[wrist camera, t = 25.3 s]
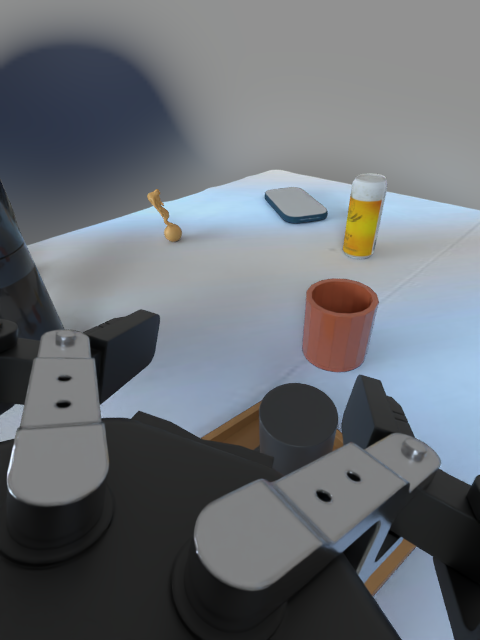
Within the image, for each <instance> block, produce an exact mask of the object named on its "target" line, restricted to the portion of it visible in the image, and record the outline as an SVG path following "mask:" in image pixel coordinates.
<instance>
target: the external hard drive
mask: <svg viewBox="0 0 480 640" xmlns="http://www.w3.org/2000/svg"><path fill="white" fill-rule="evenodd" d="M265 199H266V200H267V201H268V203H269V204H270V205H271V206H272V207H273V208H274V209H275V211H276V212H277V213H278V214H279V215H280V216H281V217H282V219H283V220H285V221H287V222H290V223H302V222H310V221H317V220H323V219H325V218H326V217H327V209H326V208H325V207H324V206H323V205H321V204H320V203H319V202H318V201H316V200H315V199H314V198H313V197H311V196H310V195H309V194H308V193H307V192H305V191H304V190H303V189H301V188H297V187H289V188H280V189H272V190H268V191H266V192H265Z"/></svg>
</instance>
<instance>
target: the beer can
mask: <svg viewBox="0 0 480 640" xmlns="http://www.w3.org/2000/svg"><path fill="white" fill-rule="evenodd" d="M386 189H387V181H386V177H385V176H383V175H379V174H360V175H357V176H356V177H355V180H354V181H353V183H352V189H351V196H350V203H349V210H348V217H347V224H346V231H345V238H344V245H343V251H344V252H345V254H346V255H347V256H348V257H350V258H354V259H365V258H368V257H370V255H372V254H373V253H374V249H375V244H376V239H377V234H378V229H379V224H380V220H381V215H382V210H383V205H384V200H385V195H386Z"/></svg>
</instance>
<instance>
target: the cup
mask: <svg viewBox="0 0 480 640" xmlns="http://www.w3.org/2000/svg"><path fill="white" fill-rule="evenodd" d="M378 304H379V301H378V297H377V294H376V293H375V292H374V291H373V290H372V289H371V288H370V287H368V286H366V285H364V284H362V283H360V282H357V281H352V280H348V279H327V280H321V281H319V282H317V283H315V284H313V285H311V286H310V288H309V289H308V290H307V292H306V304H305V317H304V329H303V344H302V350H303V354H304V356H305V357H306V359H307V360H308V361H309V362H310V363H312V364H313V365H315V366H316V367H318V368H321V369H323V370H327V371H332V372H346V371H350V370H353V369H355V368H357V367H359V366H360V365H361V364H362V363H363V362H364V360H365V357H366V354H367V351H368V346H369V342H370V338H371V334H372V329H373V325H374V321H375V316H376V312H377V308H378Z"/></svg>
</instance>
